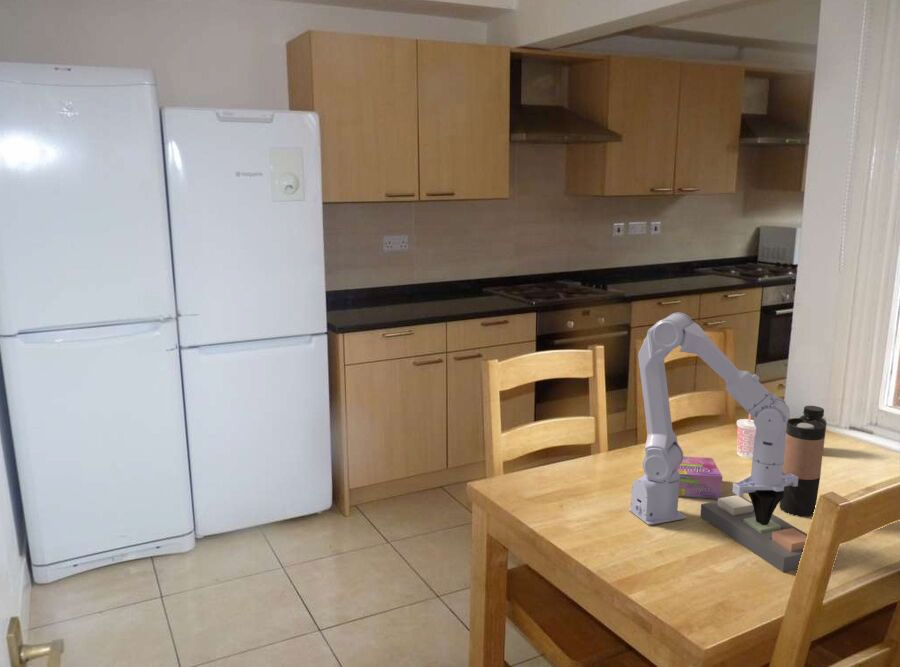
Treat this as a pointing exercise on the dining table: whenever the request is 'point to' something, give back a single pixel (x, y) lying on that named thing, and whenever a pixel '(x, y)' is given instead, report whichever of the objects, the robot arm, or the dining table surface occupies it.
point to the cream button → (735, 505)
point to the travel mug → (802, 465)
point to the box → (699, 478)
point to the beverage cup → (745, 437)
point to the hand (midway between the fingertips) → (762, 522)
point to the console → (753, 535)
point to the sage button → (760, 527)
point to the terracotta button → (789, 539)
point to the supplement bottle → (814, 415)
